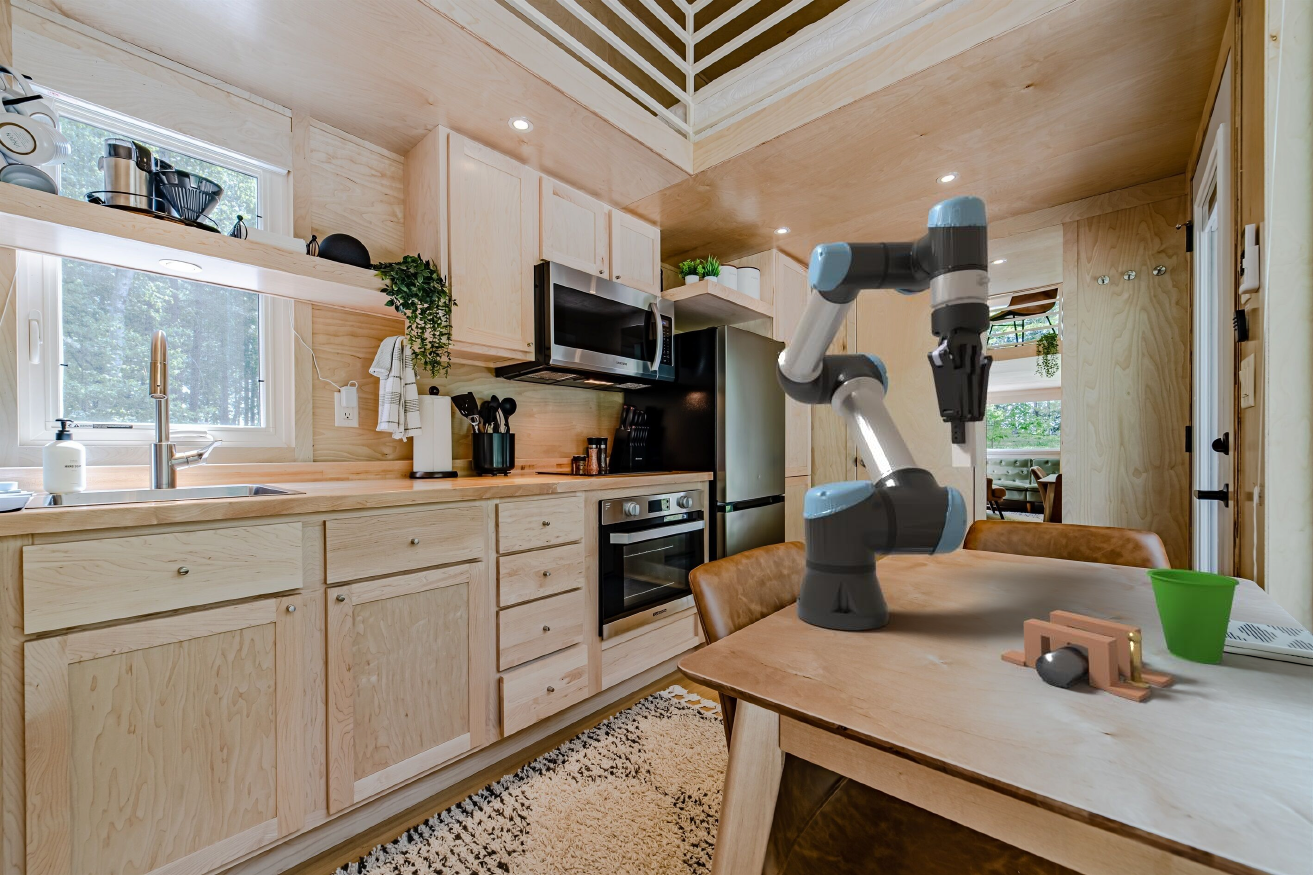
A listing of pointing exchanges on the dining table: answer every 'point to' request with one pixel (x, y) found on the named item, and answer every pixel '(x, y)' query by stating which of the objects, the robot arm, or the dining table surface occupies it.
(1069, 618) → the collar
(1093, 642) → the collar
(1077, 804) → the dining table surface
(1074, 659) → the tube
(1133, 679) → the pointer post
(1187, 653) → the cup
